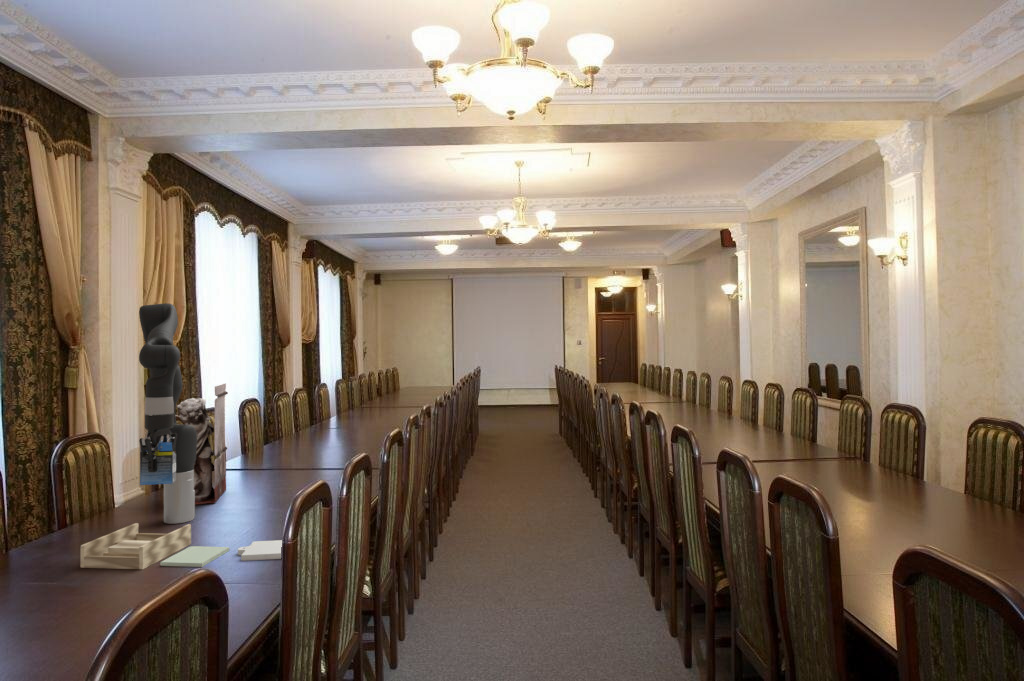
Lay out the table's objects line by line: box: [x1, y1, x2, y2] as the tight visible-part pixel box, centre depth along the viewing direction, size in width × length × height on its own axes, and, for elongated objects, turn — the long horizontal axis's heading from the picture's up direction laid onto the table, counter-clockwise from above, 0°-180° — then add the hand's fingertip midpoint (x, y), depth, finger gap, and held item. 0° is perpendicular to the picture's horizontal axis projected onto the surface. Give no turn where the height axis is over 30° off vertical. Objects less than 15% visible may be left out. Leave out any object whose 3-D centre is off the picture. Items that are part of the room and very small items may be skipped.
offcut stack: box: [103, 540, 151, 557], centre depth 180 cm, size 7×12×4 cm, turn 86°
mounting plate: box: [237, 539, 283, 562], centre depth 186 cm, size 18×13×2 cm
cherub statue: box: [176, 383, 229, 506], centre depth 253 cm, size 23×19×45 cm
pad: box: [159, 545, 230, 568], centre depth 181 cm, size 14×12×1 cm
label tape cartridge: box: [139, 442, 176, 486], centre depth 188 cm, size 9×4×12 cm, turn 101°
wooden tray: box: [79, 522, 192, 570], centre depth 184 cm, size 22×18×6 cm
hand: (158, 470), depth 187 cm, fingers closed on label tape cartridge, 4 cm apart
